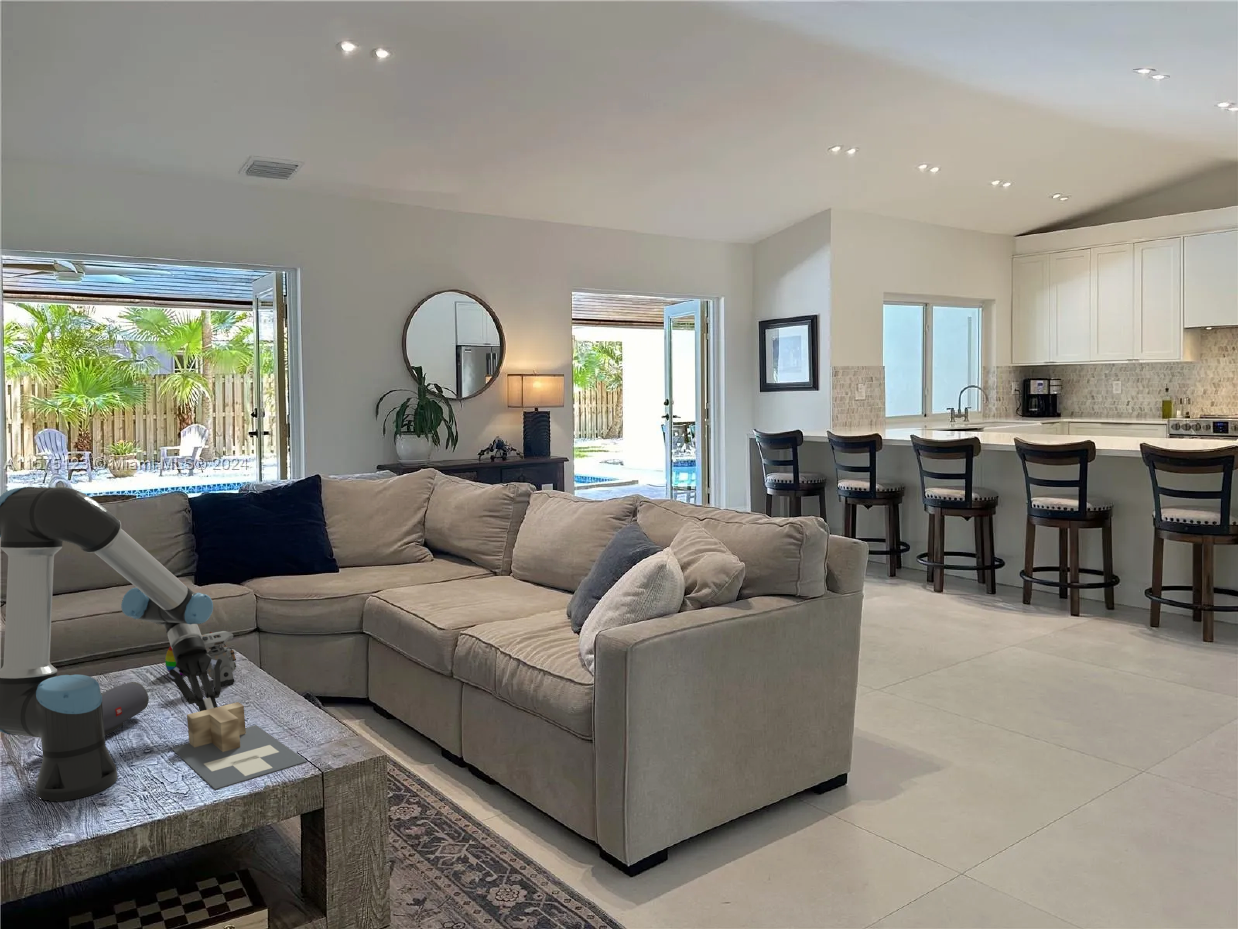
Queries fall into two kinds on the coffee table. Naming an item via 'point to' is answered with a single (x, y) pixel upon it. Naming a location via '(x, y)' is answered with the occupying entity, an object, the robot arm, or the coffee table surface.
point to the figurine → (221, 655)
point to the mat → (239, 758)
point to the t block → (217, 726)
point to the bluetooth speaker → (122, 704)
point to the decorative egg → (170, 660)
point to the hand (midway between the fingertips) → (213, 723)
